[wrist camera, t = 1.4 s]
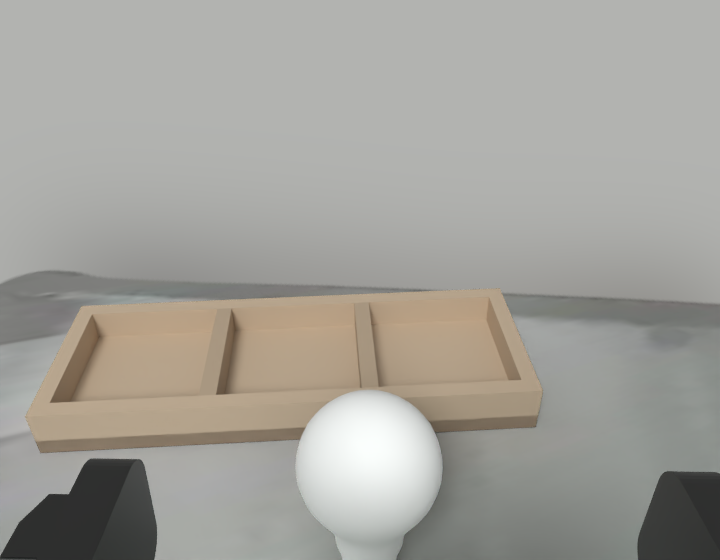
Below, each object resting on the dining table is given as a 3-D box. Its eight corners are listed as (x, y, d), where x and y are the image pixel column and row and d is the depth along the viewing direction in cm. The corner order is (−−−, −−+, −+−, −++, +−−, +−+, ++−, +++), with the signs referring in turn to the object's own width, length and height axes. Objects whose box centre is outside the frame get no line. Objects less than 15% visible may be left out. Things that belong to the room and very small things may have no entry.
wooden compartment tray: (495, 321, 47) (499, 288, 46) (535, 427, 39) (542, 390, 37) (92, 339, 46) (81, 306, 45) (40, 452, 38) (25, 416, 36)
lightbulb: (369, 498, 35) (369, 341, 29) (458, 573, 31) (479, 412, 25) (280, 572, 31) (258, 411, 25) (369, 667, 28) (368, 505, 21)
